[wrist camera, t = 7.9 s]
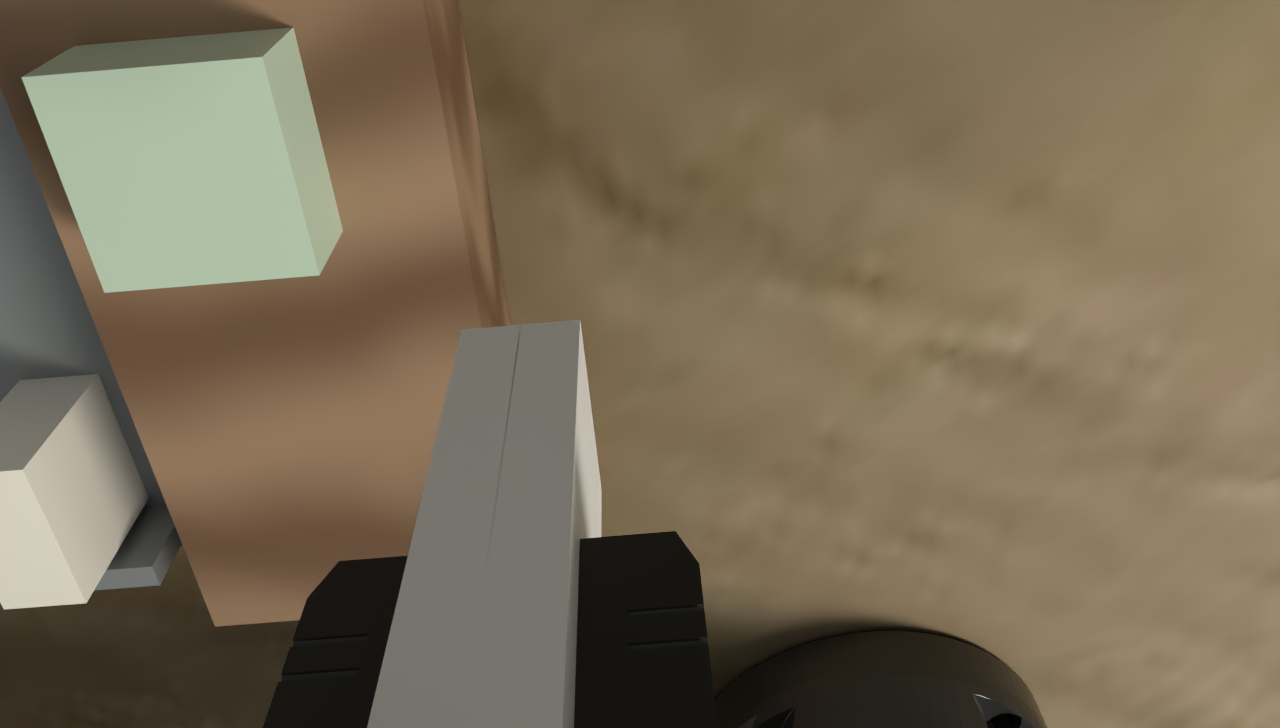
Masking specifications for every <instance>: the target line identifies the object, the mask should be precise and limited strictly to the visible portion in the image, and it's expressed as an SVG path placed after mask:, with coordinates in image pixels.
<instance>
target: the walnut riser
mask: <svg viewBox="0 0 1280 728" xmlns="http://www.w3.org/2000/svg"><path fill="white" fill-rule="evenodd" d="M291 27H293V28H294V32H295V36H296V40H297V44H298V48H299V52H300V56H301V60H302V64H303V69H304V73H305V77H306V81H307V85H308V89H309V93H310V97H311V101H312V106H313V110H314V114H315V118H316V122H317V126H318V130H319V134H320V138H321V143H322V147H323V151H324V155H325V159H326V163H327V167H328V171H329V175H330V180H331V184H332V188H333V192H334V196H335V200H336V204H337V208H338V212H339V217H340V221H341V225H342V229H343V232H342V234H341V236H340V238H339V239H338V241H337V243H336V245H335V247H334V249H333V251H332V253H331V255H330V257H329V258H328V260H327V262H326V264H325V266H324V268H323V270H322V272H321V274H320V275H318V276H306V277H294V278H281V279H269V280H257V281H245V282H232V283H220V284H208V285H195V286H183V287H171V288H159V289H146V290H134V291H122V292H109V293H104V291H103V288H102V285H101V283H100V280H99V278H98V275H97V272H96V270H95V267H94V265H93V262H92V259H91V257H90V254H89V252H88V249H87V246H86V244H85V241H84V239H83V236H82V233H81V231H80V228H79V226H78V223H77V220H76V218H75V215H74V213H73V210H72V207H71V205H70V202H69V200H68V197H67V195H66V192H65V189H64V187H63V184H62V182H61V179H60V176H59V174H58V171H57V169H56V166H55V163H54V161H53V158H52V156H51V153H50V150H49V148H48V145H47V143H46V140H45V137H44V135H43V132H42V130H41V127H40V124H39V122H38V119H37V117H36V114H35V111H34V109H33V106H32V104H31V101H30V99H29V96H28V93H27V91H26V88H25V86H24V83H23V80H22V78H21V77H23V76H24V75H26V74H28V73H29V72H31V71H33V70H34V69H36V68H38V67H40V66H41V65H43V64H45V63H46V62H48V61H50V60H51V59H53V58H55V57H56V56H58V55H60V54H61V53H63V52H65V51H67V50H68V49H70V48H72V47H73V46H79V45H91V44H103V43H115V42H126V41H138V40H150V39H162V38H173V37H185V36H197V35H209V34H221V33H232V32H244V31H256V30H268V29H279V28H291ZM0 88H1V90H2V93H3V95H4V98H5V100H6V103H7V105H8V108H9V110H10V113H11V115H12V118H13V120H14V123H15V125H16V128H17V130H18V133H19V135H20V138H21V140H22V143H23V145H24V148H25V150H26V153H27V156H28V158H29V161H30V163H31V166H32V168H33V171H34V173H35V176H36V178H37V181H38V183H39V186H40V188H41V191H42V193H43V196H44V198H45V201H46V203H47V206H48V208H49V211H50V213H51V216H52V218H53V221H54V223H55V226H56V228H57V231H58V233H59V236H60V238H61V241H62V243H63V246H64V249H65V251H66V254H67V256H68V259H69V261H70V264H71V266H72V269H73V271H74V274H75V276H76V279H77V281H78V284H79V286H80V289H81V291H82V294H83V296H84V299H85V301H86V304H87V306H88V309H89V311H90V314H91V316H92V319H93V321H94V324H95V326H96V329H97V331H98V334H99V336H100V339H101V341H102V344H103V347H104V349H105V352H106V354H107V357H108V359H109V362H110V364H111V367H112V369H113V372H114V374H115V377H116V379H117V382H118V384H119V387H120V389H121V392H122V394H123V397H124V399H125V402H126V404H127V407H128V409H129V412H130V414H131V417H132V419H133V422H134V424H135V427H136V429H137V432H138V434H139V437H140V440H141V442H142V445H143V447H144V450H145V452H146V455H147V457H148V460H149V462H150V465H151V467H152V470H153V472H154V475H155V477H156V480H157V482H158V485H159V487H160V490H161V492H162V495H163V497H164V500H165V502H166V505H167V507H168V510H169V512H170V515H171V517H172V520H173V522H174V525H175V527H176V530H177V533H178V535H179V538H180V540H181V543H182V545H183V548H184V550H185V553H186V555H187V558H188V560H189V563H190V565H191V568H192V570H193V573H194V575H195V578H196V580H197V583H198V585H199V588H200V590H201V593H202V595H203V598H204V600H205V603H206V605H207V608H208V610H209V613H210V615H211V618H212V620H213V623H214V625H215V627H217V626H230V625H243V624H256V623H269V622H282V621H296V620H300V618H301V615H302V612H303V609H304V606H305V603H306V600H307V598H308V597H309V595H310V594H311V593H312V592H313V591H314V590H315V588H316V587H317V586H318V585H319V584H320V583H321V581H322V580H323V579H324V578H325V577H326V576H327V574H328V573H329V572H330V571H331V570H332V569H333V567H334V566H335V565H336V564H337V563H338V562H339V561H346V560H359V559H371V558H384V557H396V556H408V553H409V549H410V545H411V541H412V536H413V532H414V528H415V524H416V520H417V515H418V511H419V507H420V503H421V499H422V494H423V490H424V486H425V482H426V478H427V473H428V469H429V465H430V461H431V457H432V452H433V448H434V444H435V440H436V436H437V431H438V427H439V423H440V419H441V415H442V410H443V406H444V402H445V398H446V393H447V389H448V385H449V381H450V377H451V372H452V368H453V364H454V360H455V356H456V351H457V347H458V343H459V339H460V335H461V330H463V329H475V328H487V327H499V326H510V321H509V314H508V308H507V302H506V296H505V290H504V283H503V277H502V271H501V265H500V258H499V252H498V246H497V240H496V234H495V227H494V221H493V215H492V209H491V203H490V196H489V190H488V184H487V178H486V172H485V165H484V159H483V153H482V147H481V141H480V134H479V128H478V122H477V116H476V110H475V103H474V97H473V91H472V85H471V78H470V72H469V66H468V60H467V54H466V47H465V41H464V35H463V29H462V23H461V16H460V10H459V4H458V0H0Z"/></svg>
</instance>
